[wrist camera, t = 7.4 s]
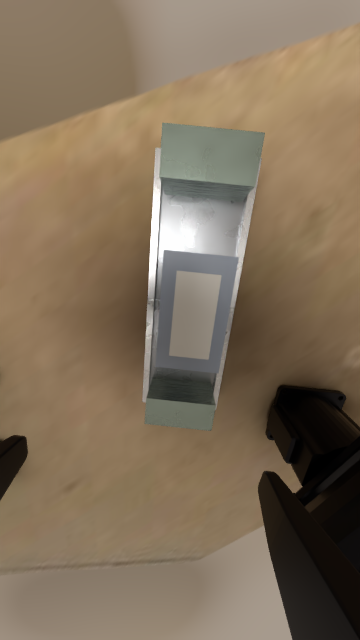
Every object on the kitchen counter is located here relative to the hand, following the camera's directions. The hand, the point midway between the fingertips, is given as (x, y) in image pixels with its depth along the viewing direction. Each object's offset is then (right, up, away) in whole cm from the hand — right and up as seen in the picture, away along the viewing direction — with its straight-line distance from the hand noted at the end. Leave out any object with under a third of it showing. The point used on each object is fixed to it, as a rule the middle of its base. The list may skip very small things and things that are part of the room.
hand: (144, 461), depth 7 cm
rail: (+2, +7, +10) cm, 13 cm away
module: (+2, +7, +9) cm, 11 cm away
